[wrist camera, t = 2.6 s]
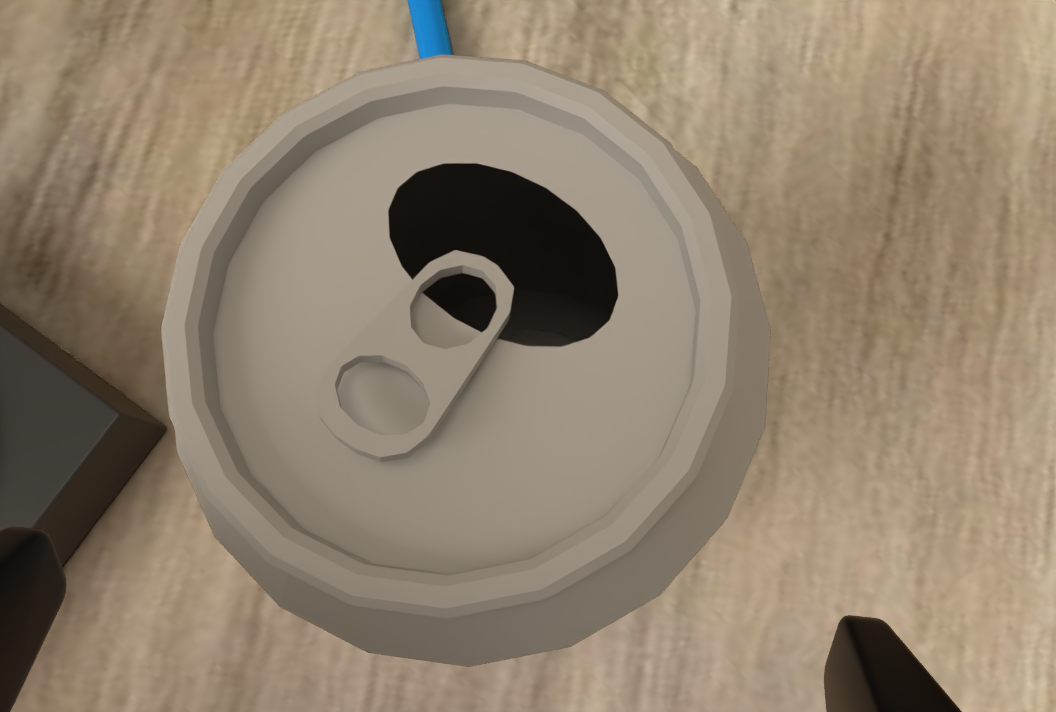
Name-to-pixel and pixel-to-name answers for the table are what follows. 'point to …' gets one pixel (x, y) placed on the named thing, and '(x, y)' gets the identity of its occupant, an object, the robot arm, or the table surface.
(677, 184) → the can
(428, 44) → the pen
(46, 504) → the scale
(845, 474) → the table surface
